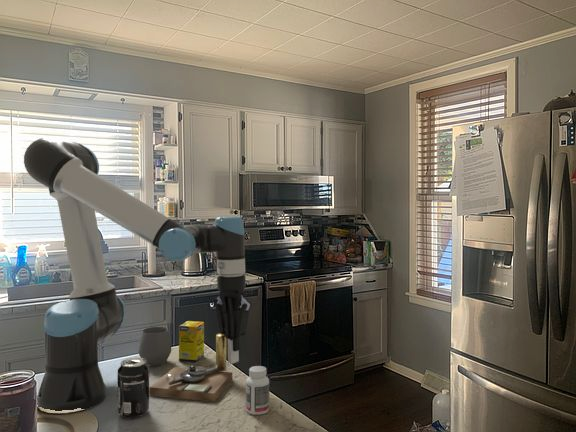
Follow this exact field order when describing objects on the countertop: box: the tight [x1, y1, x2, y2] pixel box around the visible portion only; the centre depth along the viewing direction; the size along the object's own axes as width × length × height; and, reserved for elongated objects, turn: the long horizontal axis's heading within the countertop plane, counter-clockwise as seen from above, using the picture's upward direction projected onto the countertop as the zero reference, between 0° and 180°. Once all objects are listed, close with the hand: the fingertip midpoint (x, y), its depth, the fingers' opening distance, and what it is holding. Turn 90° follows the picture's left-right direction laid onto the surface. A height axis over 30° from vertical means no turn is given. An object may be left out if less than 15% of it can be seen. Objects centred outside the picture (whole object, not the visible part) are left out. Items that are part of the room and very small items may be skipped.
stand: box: [149, 366, 233, 403], centre depth 120 cm, size 17×14×2 cm
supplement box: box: [178, 320, 205, 363], centre depth 141 cm, size 6×6×11 cm
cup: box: [138, 326, 172, 367], centre depth 137 cm, size 10×9×10 cm
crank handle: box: [166, 332, 227, 385], centre depth 121 cm, size 18×6×10 cm, turn 134°
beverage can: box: [117, 357, 150, 420], centre depth 104 cm, size 7×7×12 cm
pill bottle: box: [245, 365, 270, 416], centre depth 107 cm, size 5×5×10 cm
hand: (233, 362), depth 123 cm, fingers closed
